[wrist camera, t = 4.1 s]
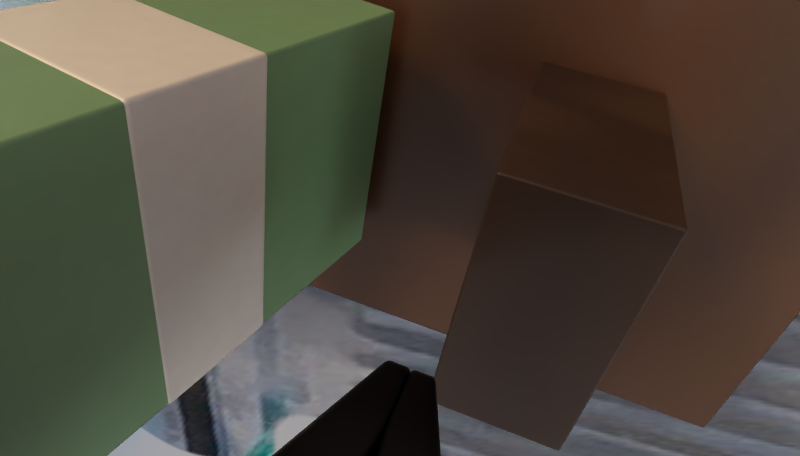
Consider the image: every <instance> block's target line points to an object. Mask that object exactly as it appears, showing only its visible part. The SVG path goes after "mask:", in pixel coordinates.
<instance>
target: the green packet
mask: <svg viewBox="0 0 800 456" xmlns="http://www.w3.org/2000/svg"><path fill="white" fill-rule="evenodd" d="M394 16H395V12H394V11H393V10H390V9H387V8H384V7H381V6H378V5H375V4H372V3H369V2H366V1H363V0H57V1H51V2H45V3H39V4H33V5H27V6H20V7H14V8H8V9H2V10H0V456H107V455H108V454H110V453H111V452H112V451H113V450H114V449H115V448H117V447H118V446H119V445H120V444H121V443H123V442H124V441H125V440H126V439H127V438H128V437H130V436H131V435H132V434H133V433H134V432H136V431H137V430H138V429H139V428H140V427H141V426H143V425H144V424H145V423H146V422H147V421H148V420H150V419H151V418H152V417H153V416H154V415H156V414H157V413H158V412H159V411H160V410H161V409H163V408H164V407H165V406H166V405H167V404H171V403H172V402H173V401H174V400H176V399H177V398H178V397H179V396H180V395H181V394H183V393H184V392H185V391H186V390H187V389H189V388H190V387H191V386H192V385H193V384H194V383H196V382H197V381H198V380H199V379H200V378H201V377H203V376H204V375H205V374H206V373H207V372H208V371H210V370H211V369H212V368H213V367H214V366H215V365H217V364H218V363H219V362H220V361H221V360H222V359H224V358H225V357H226V356H227V355H228V354H230V353H231V352H232V351H233V350H234V349H235V348H237V347H238V346H239V345H240V344H241V343H242V342H244V341H245V340H246V339H247V338H248V337H249V336H251V335H252V334H253V333H254V332H255V331H256V330H258V329H259V328H260V327H261V326H262V324H263V323H264V322H265V321H266V320H267V319H268V318H270V317H271V316H272V315H273V314H274V313H276V312H277V311H278V310H279V309H280V308H281V307H283V306H284V305H285V304H286V303H287V302H288V301H290V300H291V299H292V298H293V297H294V296H296V295H297V294H298V293H299V292H300V291H301V290H303V289H304V288H305V287H306V286H307V285H308V284H310V283H311V282H312V281H313V280H314V279H316V278H317V277H318V276H319V275H320V274H321V273H323V272H324V271H325V270H326V269H327V268H328V267H330V266H331V265H332V264H333V263H334V262H336V261H337V260H338V259H339V258H340V257H341V256H343V255H344V254H345V253H346V252H347V251H348V250H350V249H351V248H352V247H353V246H354V245H356V244H357V243H358V242H359V241H360V240H361V238H362V231H363V225H364V218H365V211H366V204H367V198H368V191H369V184H370V177H371V171H372V164H373V157H374V150H375V144H376V137H377V130H378V124H379V117H380V110H381V103H382V97H383V90H384V83H385V76H386V70H387V63H388V56H389V49H390V43H391V36H392V29H393V22H394Z"/></svg>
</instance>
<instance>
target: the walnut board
mask: <svg viewBox="0 0 800 456" xmlns="http://www.w3.org/2000/svg"><path fill="white" fill-rule="evenodd" d="M363 1H366V2H369V3H372V4H375V5H378V6H381V7H384V8H387V9H390V10H393V11H394V12H395V16H394V22H393V29H392V36H391V43H390V49H389V56H388V63H387V70H386V76H385V83H384V90H383V97H382V103H381V110H380V117H379V124H378V130H377V137H376V144H375V150H374V157H373V164H372V171H371V177H370V184H369V191H368V198H367V204H366V211H365V218H364V225H363V231H362V238H361V240H360V241H359V242H358V243H357V244H356V245H354V246H353V247H352V248H351V249H350V250H348V251H347V252H346V253H345V254H344V255H343V256H341V257H340V258H339V259H338V260H337V261H336V262H334V263H333V264H332V265H331V266H330V267H328V268H327V269H326V270H325V271H324V272H323V273H321V274H320V275H319V276H318V277H317V278H316V279H314V280H313V281H312V282H311V283H310V284H309V285H312V286H314V287H317V288H320V289H323V290H325V291H328V292H331V293H334V294H336V295H339V296H342V297H345V298H347V299H350V300H353V301H356V302H358V303H361V304H364V305H367V306H369V307H372V308H375V309H378V310H380V311H383V312H386V313H389V314H391V315H394V316H397V317H400V318H403V319H405V320H408V321H411V322H414V323H416V324H419V325H422V326H425V327H427V328H430V329H433V330H436V331H438V332H441V333H444V334H447V336H446V340H445V343H444V346H443V350H442V353H441V356H440V359H439V363H438V366H437V369H436V372H435V376H434V379H435V381H436V393H437V404H439V405H441V406H444V407H446V408H449V409H452V410H454V411H457V412H459V413H462V414H465V415H467V416H470V417H472V418H475V419H477V420H480V421H483V422H485V423H488V424H490V425H493V426H496V427H498V428H501V429H503V430H506V431H509V432H511V433H514V434H516V435H519V436H522V437H524V438H527V439H529V440H532V441H535V442H537V443H540V444H542V445H545V446H547V447H550V448H553V449H555V450H560V449H561V447H562V445H563V444H564V442H565V440H566V438H567V437H568V435H569V433H570V432H571V430H572V428H573V426H574V425H575V423H576V421H577V420H578V418H579V416H580V415H581V413H582V411H583V409H584V408H585V406H586V404H587V403H588V401H589V399H590V398H591V396H592V394H593V392H594V391H595V389H598V390H601V391H604V392H607V393H609V394H612V395H615V396H618V397H620V398H623V399H626V400H629V401H631V402H634V403H637V404H640V405H642V406H645V407H648V408H651V409H654V410H656V411H659V412H662V413H665V414H667V415H670V416H673V417H676V418H678V419H681V420H684V421H687V422H689V423H692V424H695V425H698V426H700V427H705V426H706V424H707V423H708V422H709V421H710V420H711V418H712V417H713V416H714V415H715V413H716V412H717V411H718V410H719V409H720V407H721V406H722V405H723V404H724V403H725V401H726V400H727V399H728V398H729V397H730V395H731V394H732V393H733V392H734V391H735V389H736V388H737V387H738V386H739V384H740V383H741V382H742V381H743V380H744V378H745V377H746V376H747V375H748V374H749V372H750V371H751V370H752V369H753V368H754V366H755V365H756V364H757V363H758V362H759V360H760V359H761V358H762V357H763V355H764V354H765V353H766V352H767V351H768V349H769V348H770V347H771V346H772V345H773V343H774V342H775V341H776V340H777V339H778V337H779V336H780V335H781V334H782V332H783V331H784V330H785V329H786V328H787V326H788V325H789V324H790V323H791V322H792V320H793V319H794V318H795V317H796V316H797V314H798V313H799V312H800V0H363Z"/></svg>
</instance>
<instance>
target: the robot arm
mask: <svg viewBox="0 0 800 456" xmlns="http://www.w3.org/2000/svg"><path fill="white" fill-rule="evenodd" d="M272 456H441V455H440V440H439V424H438V409H437V393H436V381H435V379H434V378H433V377H432V376H429V375H426V374H424V373H421V372H418V371H415V370H414V371H411V372H410V370H409V368H407V367H405V366H403V365H400V364H397V363H395V362H392V361H386V362H384V363H383V364H382V365H380V366H379V367H378V368H377V369H376V370H374V371H373V372H372V373H371V374H370V375H368V376H367V377H366V378H365V379H364V380H362V381H361V382H360V383H359V384H358V385H356V386H355V387H354V388H353V389H352V390H350V391H349V392H348V393H347V394H346V395H344V396H343V397H342V398H341V399H340V400H338V401H337V402H336V403H335V404H334V405H332V406H331V407H330V408H329V409H328V410H326V411H325V412H324V413H323V414H322V415H320V416H319V417H318V418H317V419H316V420H314V421H313V422H312V423H311V424H310V425H308V426H307V427H306V428H305V429H304V430H302V431H301V432H300V433H299V434H298V435H296V436H295V437H294V438H293V439H292V440H290V441H289V442H288V443H287V444H286V445H284V446H283V447H282V448H281V449H280V450H278V451H277V452H276V453H275V454H274V455H272Z"/></svg>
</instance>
